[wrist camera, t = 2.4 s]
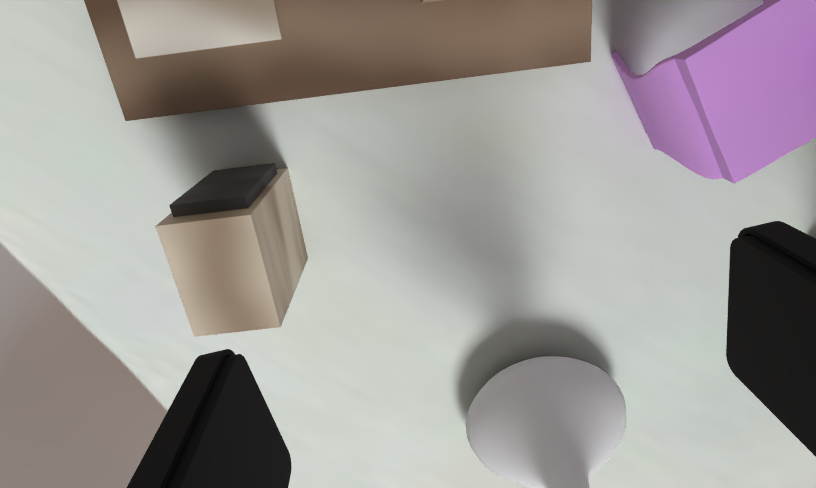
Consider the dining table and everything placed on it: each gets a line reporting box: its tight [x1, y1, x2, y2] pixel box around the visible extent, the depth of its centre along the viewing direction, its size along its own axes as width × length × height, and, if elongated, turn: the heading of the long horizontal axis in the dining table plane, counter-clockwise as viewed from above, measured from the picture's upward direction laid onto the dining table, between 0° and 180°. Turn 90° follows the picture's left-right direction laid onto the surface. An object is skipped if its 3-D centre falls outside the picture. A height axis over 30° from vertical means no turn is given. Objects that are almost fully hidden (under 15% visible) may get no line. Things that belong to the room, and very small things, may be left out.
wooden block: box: [156, 163, 308, 337], centre depth 27 cm, size 4×7×8 cm
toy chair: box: [611, 0, 816, 183], centre depth 21 cm, size 8×9×15 cm
